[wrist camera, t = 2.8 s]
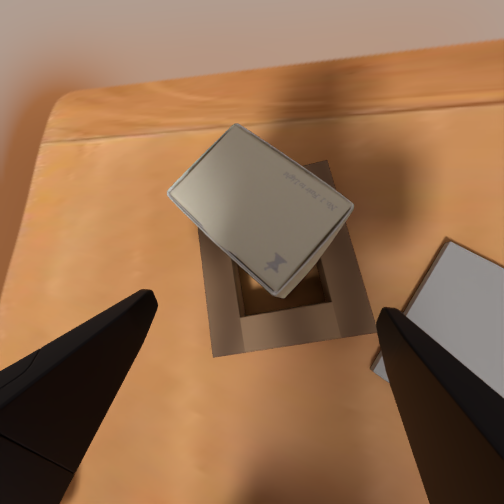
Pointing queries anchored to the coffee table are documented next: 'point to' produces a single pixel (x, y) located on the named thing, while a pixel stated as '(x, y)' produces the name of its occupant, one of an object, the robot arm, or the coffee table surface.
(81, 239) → the coffee table surface
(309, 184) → the skincare box
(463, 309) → the slate mat
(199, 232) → the walnut holder
